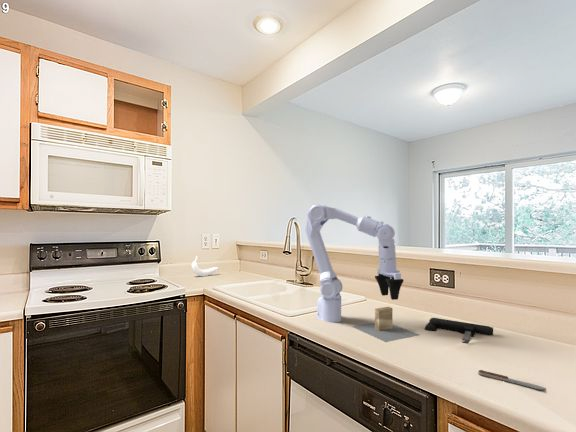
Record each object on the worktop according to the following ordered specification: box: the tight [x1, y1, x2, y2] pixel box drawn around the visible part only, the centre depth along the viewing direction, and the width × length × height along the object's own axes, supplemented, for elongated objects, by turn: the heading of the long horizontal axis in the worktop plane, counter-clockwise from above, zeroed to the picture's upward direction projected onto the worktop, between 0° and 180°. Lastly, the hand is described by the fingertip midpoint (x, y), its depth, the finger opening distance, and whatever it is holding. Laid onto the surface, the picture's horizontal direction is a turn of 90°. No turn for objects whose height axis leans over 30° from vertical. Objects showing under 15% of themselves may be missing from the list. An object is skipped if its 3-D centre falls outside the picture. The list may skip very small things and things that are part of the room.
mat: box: [351, 321, 421, 343], centre depth 114 cm, size 17×15×1 cm
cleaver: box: [477, 369, 546, 391], centre depth 80 cm, size 13×2×5 cm
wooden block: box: [374, 306, 393, 331], centre depth 116 cm, size 2×6×7 cm, turn 117°
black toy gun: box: [423, 317, 494, 345], centre depth 113 cm, size 3×20×16 cm
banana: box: [190, 255, 219, 277], centre depth 229 cm, size 5×19×15 cm, turn 134°
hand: (389, 297), depth 119 cm, fingers open, 7 cm apart
